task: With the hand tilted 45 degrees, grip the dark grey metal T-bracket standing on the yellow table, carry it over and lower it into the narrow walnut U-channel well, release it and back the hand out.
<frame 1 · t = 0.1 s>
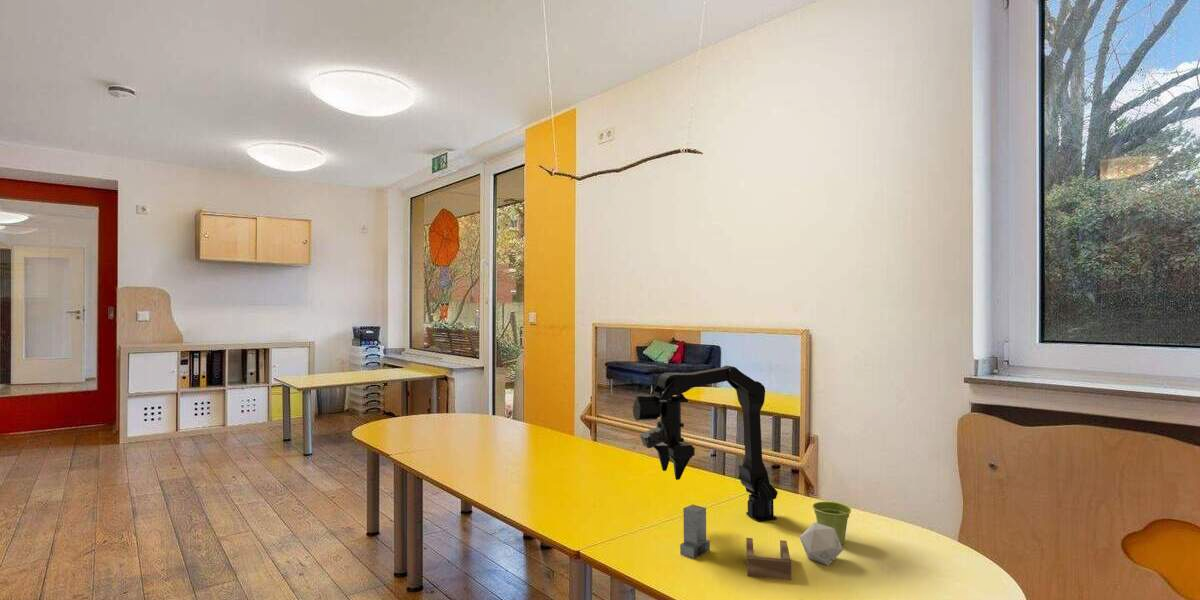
hand: (670, 475, 163), 15 cm above the table, tool pointing down, fingers open, 9 cm apart
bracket: (695, 552, 146), on the table
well: (767, 565, 138), on the table
die: (821, 560, 141), on the table
plant pot: (832, 541, 152), on the table
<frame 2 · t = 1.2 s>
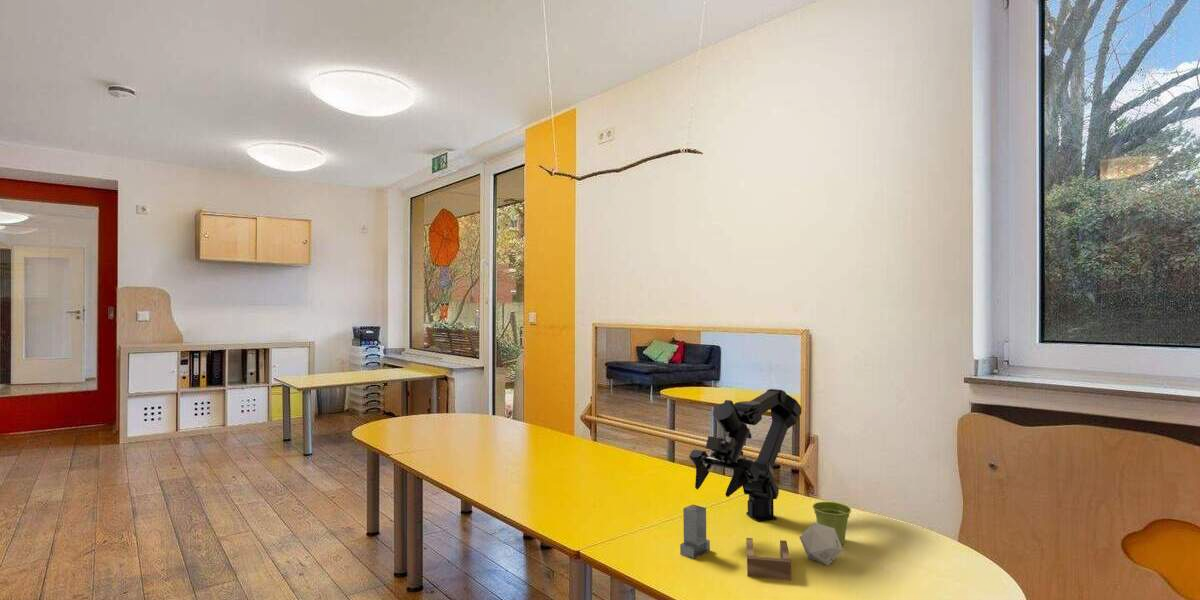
hand: (711, 492, 152), 13 cm above the table, tool tilted 45°, fingers open, 9 cm apart
nothing on the table moved.
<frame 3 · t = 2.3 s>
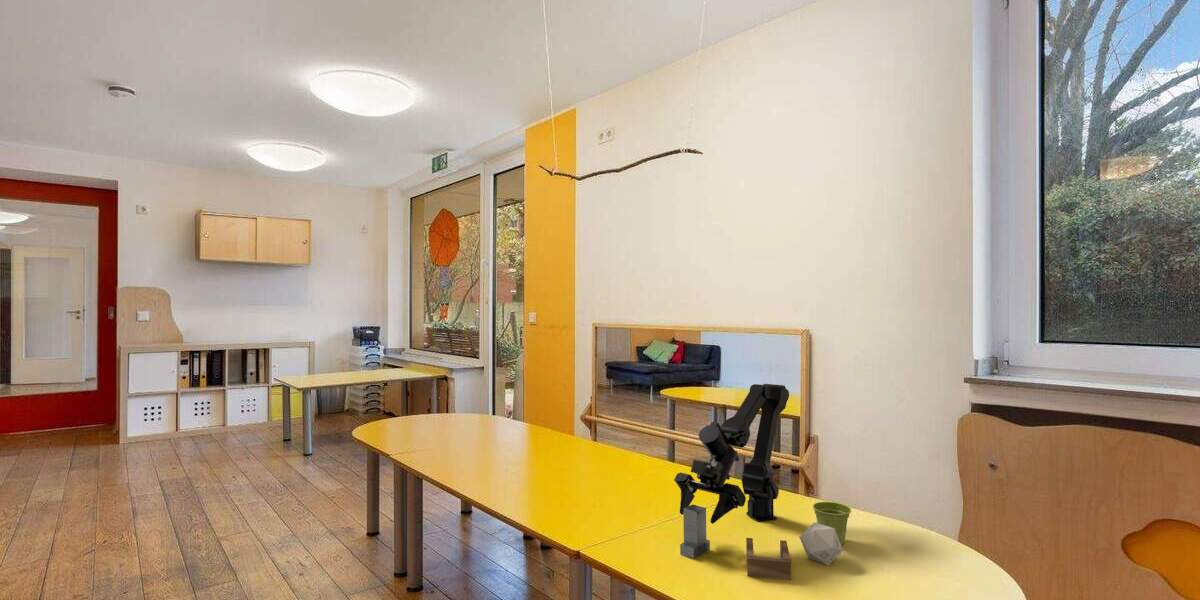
hand: (695, 518, 146), 8 cm above the table, tool tilted 45°, fingers open, 9 cm apart
nothing on the table moved.
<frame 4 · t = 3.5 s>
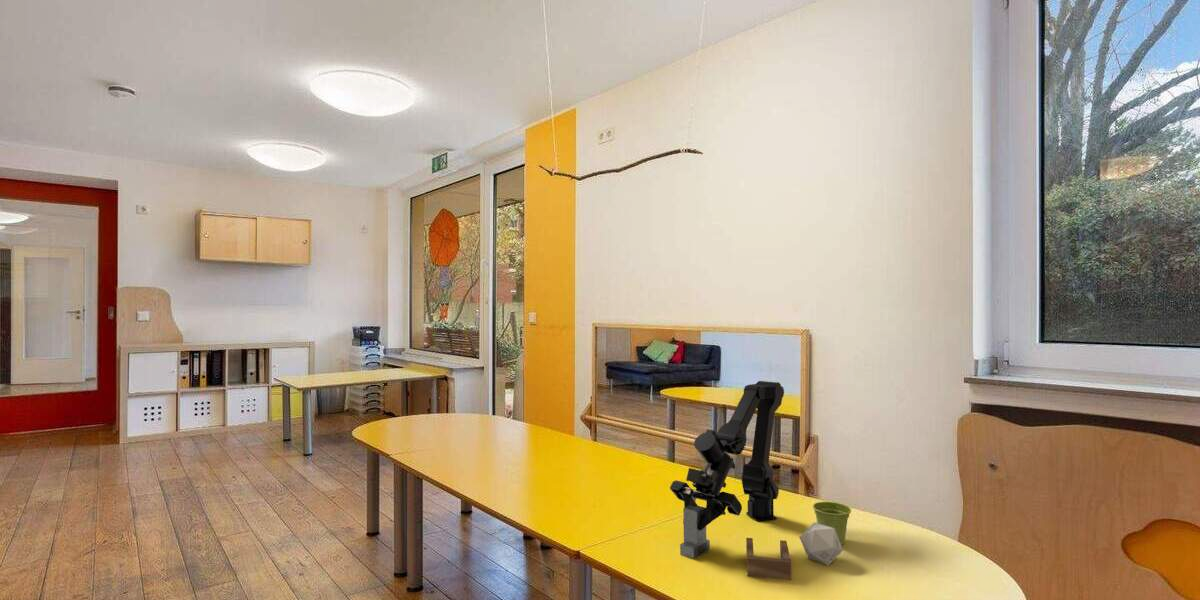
hand: (691, 527, 145), 7 cm above the table, tool tilted 45°, fingers closed on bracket, 4 cm apart
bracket: (695, 552, 146), on the table, touching gripper
everything else where it was.
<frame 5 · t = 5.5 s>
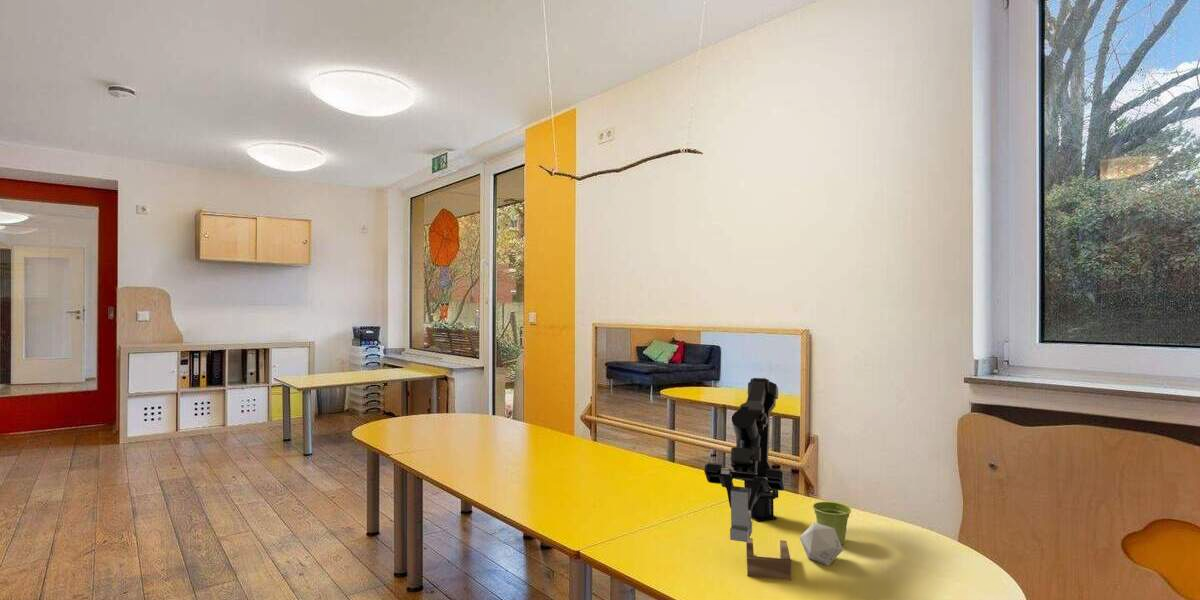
hand: (740, 508, 139), 13 cm above the table, tool tilted 45°, fingers closed on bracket, 4 cm apart
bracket: (741, 535, 140), point 6 cm above the table, touching gripper
everything else where it was.
when the fingers open (7 cm above the table, at t = 7.4 s): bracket stays where it is, resting in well.
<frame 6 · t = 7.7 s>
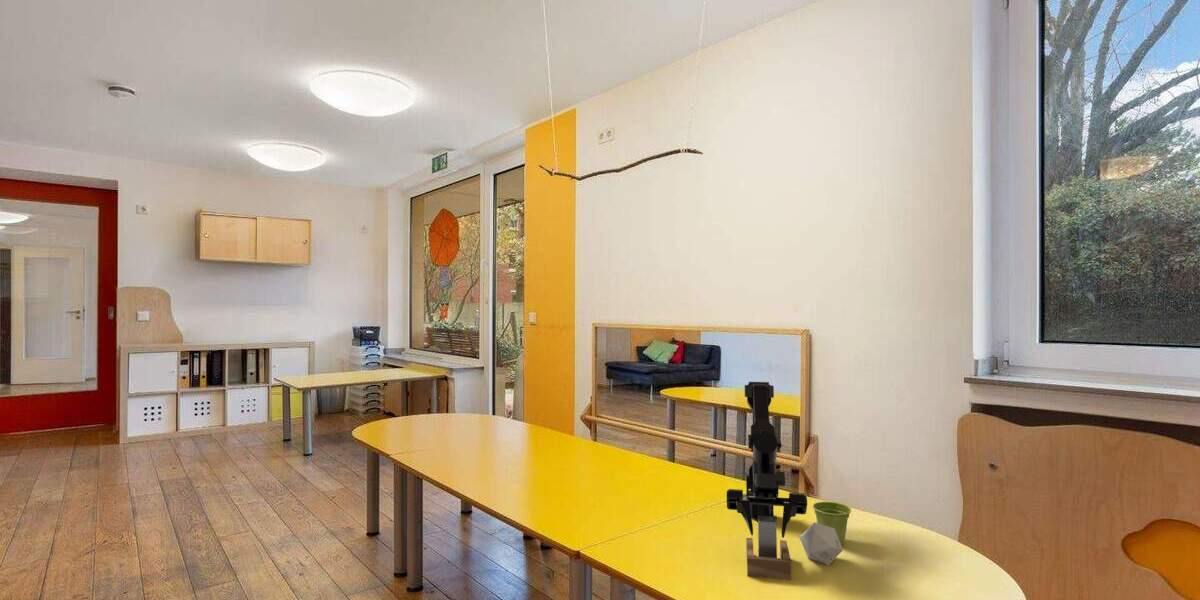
hand: (767, 535, 137), 8 cm above the table, tool tilted 45°, fingers open, 7 cm apart
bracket: (767, 565, 138), resting in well
everything else where it was.
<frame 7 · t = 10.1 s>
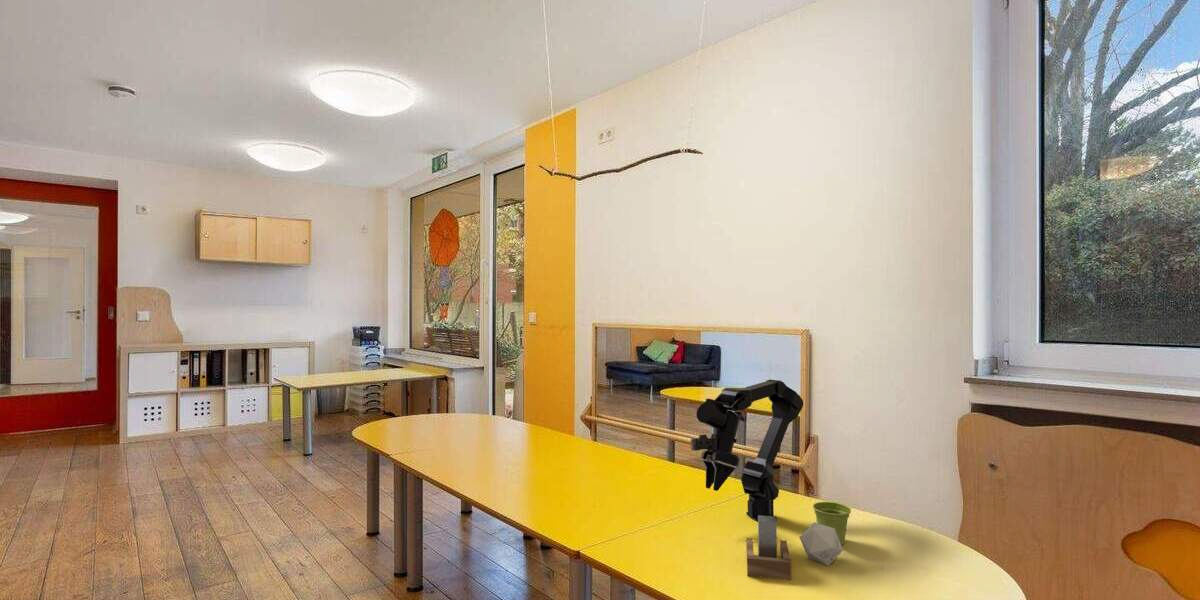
hand: (711, 489, 158), 12 cm above the table, tool tilted 25°, fingers open, 9 cm apart
nothing on the table moved.
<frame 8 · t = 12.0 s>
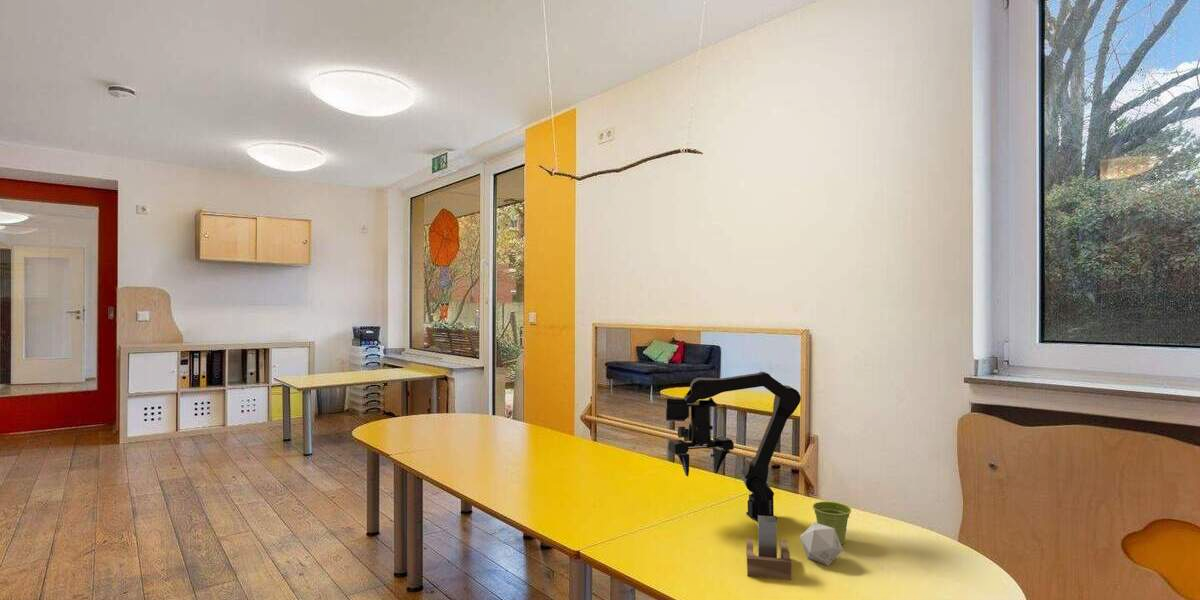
hand: (701, 474, 172), 12 cm above the table, tool pointing down, fingers open, 9 cm apart
nothing on the table moved.
at the end: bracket 0.0 cm from the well (horizontally); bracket tilted 0°; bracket resting in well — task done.
